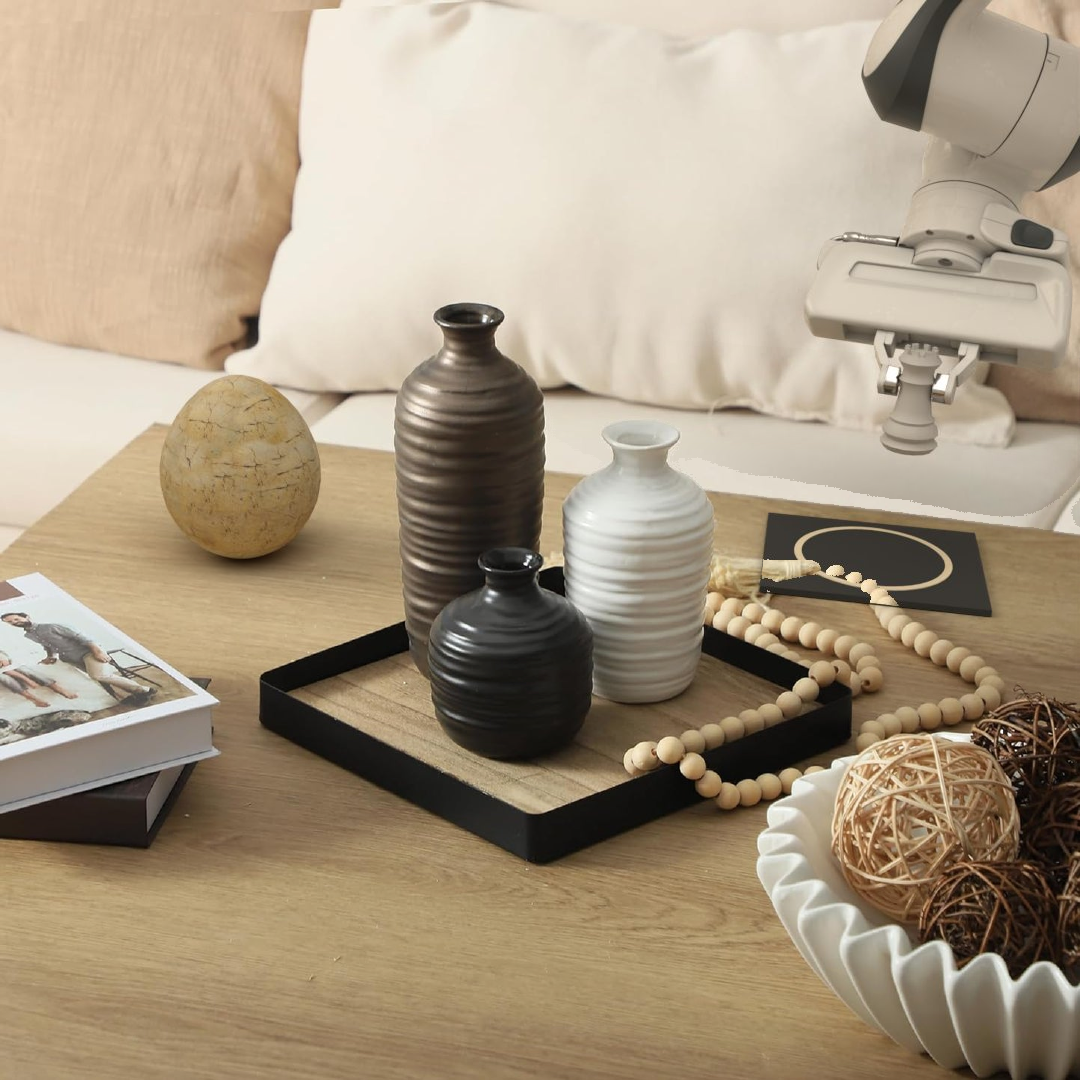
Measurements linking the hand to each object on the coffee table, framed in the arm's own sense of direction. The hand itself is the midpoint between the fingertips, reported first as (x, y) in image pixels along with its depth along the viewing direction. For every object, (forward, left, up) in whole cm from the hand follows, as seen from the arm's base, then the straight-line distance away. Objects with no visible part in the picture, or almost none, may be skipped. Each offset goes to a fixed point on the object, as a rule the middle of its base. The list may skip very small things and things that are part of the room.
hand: (914, 396), depth 113 cm
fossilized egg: (+52, +6, -16) cm, 55 cm away
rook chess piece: (0, -1, -5) cm, 5 cm away
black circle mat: (+1, -5, -16) cm, 17 cm away
